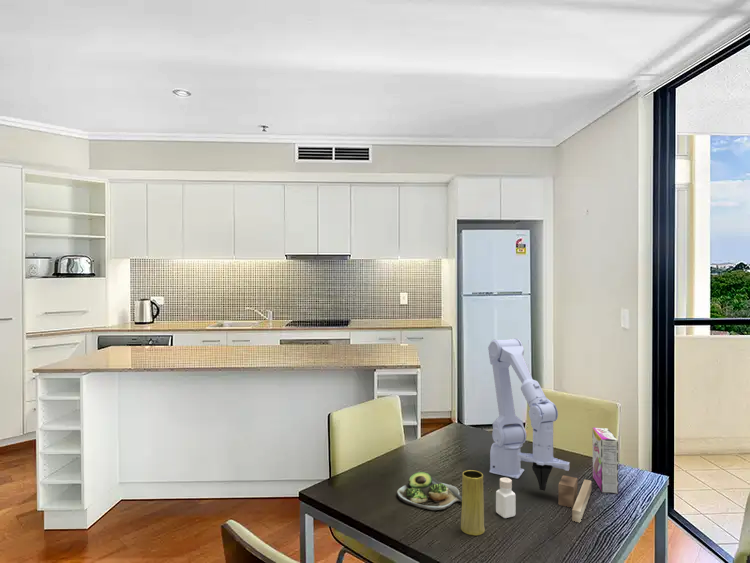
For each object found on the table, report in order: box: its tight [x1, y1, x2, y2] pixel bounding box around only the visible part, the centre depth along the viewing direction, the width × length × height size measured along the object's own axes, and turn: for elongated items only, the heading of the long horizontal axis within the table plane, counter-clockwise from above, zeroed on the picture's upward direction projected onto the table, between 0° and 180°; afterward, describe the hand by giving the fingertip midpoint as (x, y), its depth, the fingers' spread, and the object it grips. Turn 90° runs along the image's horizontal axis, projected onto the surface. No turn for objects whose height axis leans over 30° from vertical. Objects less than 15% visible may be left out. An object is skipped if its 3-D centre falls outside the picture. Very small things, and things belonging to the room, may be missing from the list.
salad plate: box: [396, 471, 462, 511], centre depth 138 cm, size 19×18×5 cm
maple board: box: [571, 478, 592, 524], centre depth 133 cm, size 2×22×3 cm, turn 148°
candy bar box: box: [591, 427, 619, 495], centre depth 145 cm, size 11×5×16 cm, turn 168°
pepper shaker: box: [495, 477, 517, 519], centre depth 127 cm, size 4×4×10 cm
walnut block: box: [557, 475, 578, 509], centre depth 135 cm, size 4×7×6 cm, turn 148°
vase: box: [460, 469, 486, 536], centre depth 120 cm, size 6×6×14 cm
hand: (542, 488), depth 139 cm, fingers closed
